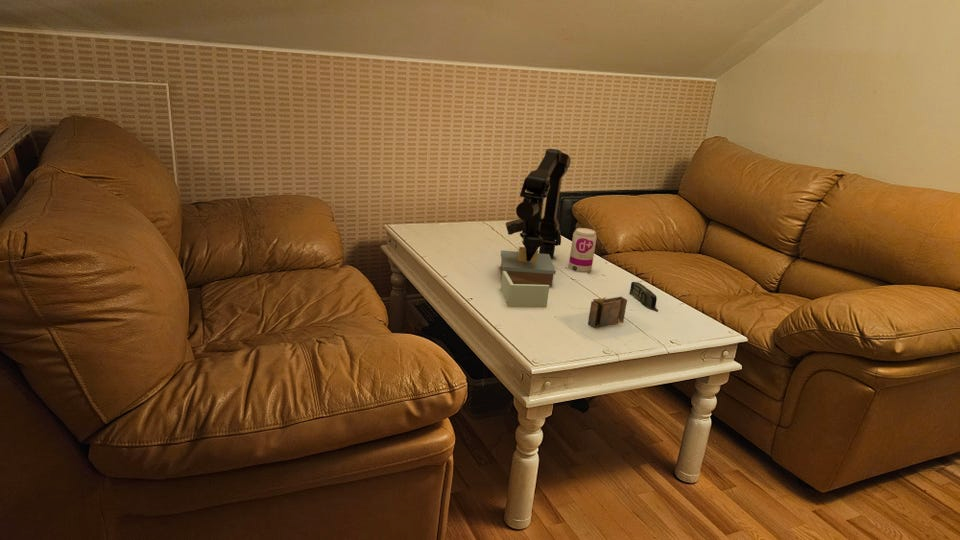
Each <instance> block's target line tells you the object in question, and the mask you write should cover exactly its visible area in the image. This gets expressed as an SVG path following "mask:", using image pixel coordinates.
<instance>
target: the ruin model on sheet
mask: <svg viewBox="0 0 960 540" xmlns="http://www.w3.org/2000/svg"><path fill="white" fill-rule="evenodd" d="M592 299H593V300H591V302H590V308H589V309H590V310H589V313H588V319H587V320H588V321H587V325H588V326H590V328H593V329H594V328H595V326H596V324H598V327H599V328H600V327H606V326H609V325H610V326H611V325H614V324H615V325H616V323H617V324H623V323H624V321H625V314H626V309H627V305H628V299H626V298H625V297H623V296H617V297H610V298H606V297H602V298H592Z"/></svg>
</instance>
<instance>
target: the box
mask: <svg viewBox="0 0 960 540" xmlns="http://www.w3.org/2000/svg"><path fill="white" fill-rule="evenodd" d="M500 270H501V273H502V272H503V271H505V270H503V266H502V259H501V263H500ZM506 272H507V274H508V276H509V277H510V279H511V281H512V282H513V284H530V285H549V288H553V282H554V281H553V280H554V274H544V273H531V272H518V271H506Z"/></svg>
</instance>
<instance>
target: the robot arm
mask: <svg viewBox="0 0 960 540" xmlns="http://www.w3.org/2000/svg"><path fill="white" fill-rule="evenodd" d="M571 161H572V160H571V157H570V155H569V154H568V153H564V152H562V150H560V149H555V148H546V150H545V154H544V156H543V158H542V160H540V163H539V165H538V167H537V168H536V169H535V170H532V171H530V172H529V174H528V175H527V176H525V178H524V181H523V184H522V187H521V190H520V194H519V197H521V198H523V199H522V202H520V203H518V205H517V206H516V208H515V214H516V216H517V218H518V219H513V220H511V221H506V222H505V227H506V230H507V235H508V236H510V235H511V236H512V235H513V234H515V233H519V236H520V238H521V239H522V240H521V243H522V245H523V246H524V247H526V258H527V261H530V260H531V259H532V257H533V255H534V254H535V252H536V251H537V249H538V253H540V254H549V255H550V257H551V260H552V259H553V260H556V258H555V249H556V247H558V246H561V244H562V234H561V230H560V222H559V220H558V217H557V216H558V209H559V202H560V201H559V200H560V194H561V186H562V181H563V177H564V176H565V175H566V174H567V173H568V171H569V168H570V165H571ZM529 192H530V193H529ZM545 198H546V199H545ZM544 200H545V205H544ZM544 206H545V207H544ZM543 207H544V213H543ZM542 213H543V214H544V215H543V214H542ZM542 215H543V218H542Z"/></svg>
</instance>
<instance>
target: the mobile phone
mask: <svg viewBox="0 0 960 540" xmlns="http://www.w3.org/2000/svg"><path fill="white" fill-rule="evenodd" d="M629 295H630V296H632V297H633V298H634V299H636V300H637V301H638V302H639V303H640V304H641V305H642V306H644V307H646V308H648V309H653V311H656V312H659V309H658V308H656V306H657V299H658V297H657V295H656V294H655V293H654V292H653V291H652V290H650V289H649V288H647V287H646V286H645V285H643V284H642V283H641V282H637V281H631V284H630V289H629Z"/></svg>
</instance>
